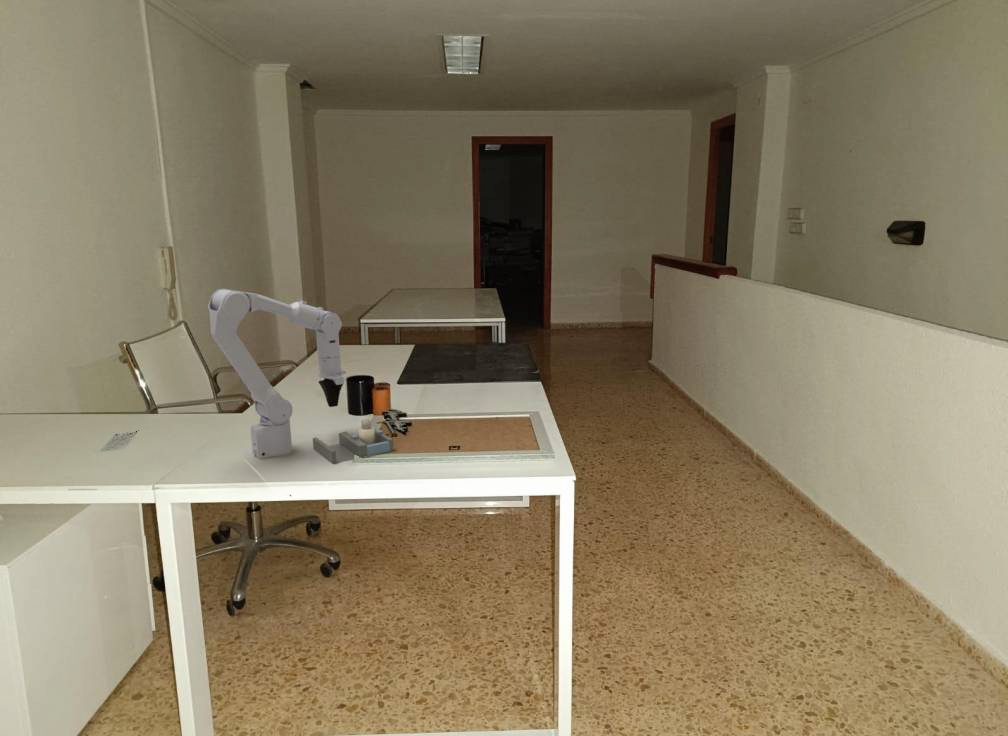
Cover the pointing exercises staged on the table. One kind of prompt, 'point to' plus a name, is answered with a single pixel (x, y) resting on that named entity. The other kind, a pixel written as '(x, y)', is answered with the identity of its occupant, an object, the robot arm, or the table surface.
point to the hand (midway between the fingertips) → (333, 406)
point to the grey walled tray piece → (352, 447)
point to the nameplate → (395, 421)
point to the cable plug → (367, 432)
